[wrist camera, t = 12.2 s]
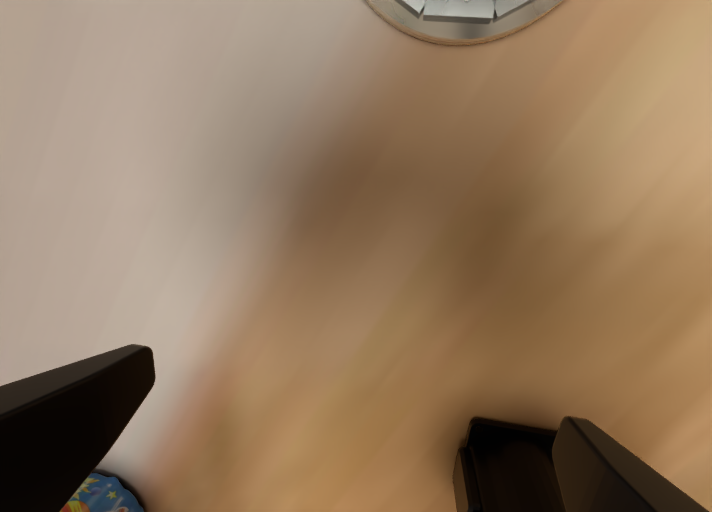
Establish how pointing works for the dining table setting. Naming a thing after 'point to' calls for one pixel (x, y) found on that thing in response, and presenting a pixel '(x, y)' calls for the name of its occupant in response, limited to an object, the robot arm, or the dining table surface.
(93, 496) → the snack cup
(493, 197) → the dining table surface
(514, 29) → the shallow metal dish
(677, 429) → the dining table surface
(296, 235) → the dining table surface
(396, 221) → the dining table surface
